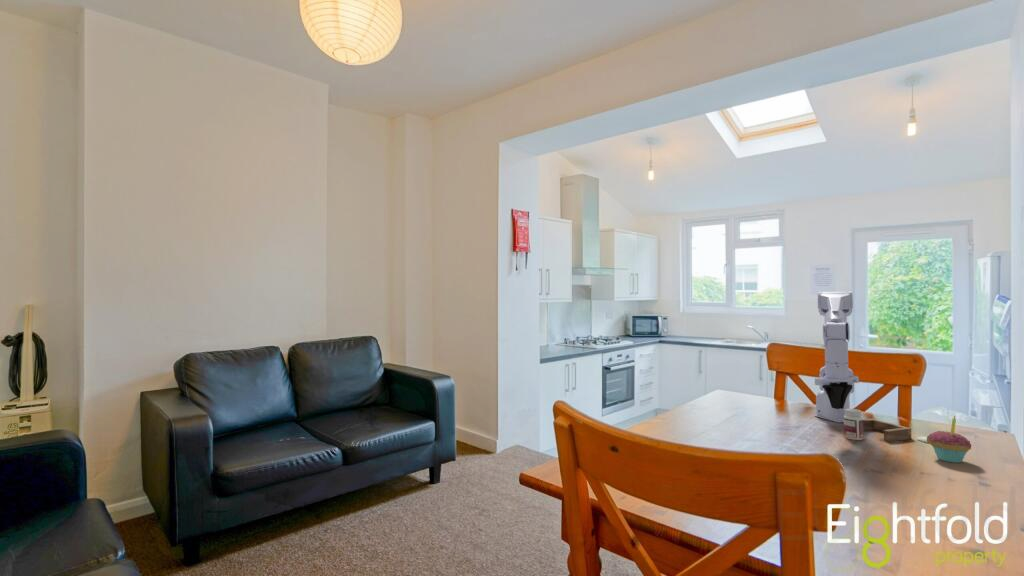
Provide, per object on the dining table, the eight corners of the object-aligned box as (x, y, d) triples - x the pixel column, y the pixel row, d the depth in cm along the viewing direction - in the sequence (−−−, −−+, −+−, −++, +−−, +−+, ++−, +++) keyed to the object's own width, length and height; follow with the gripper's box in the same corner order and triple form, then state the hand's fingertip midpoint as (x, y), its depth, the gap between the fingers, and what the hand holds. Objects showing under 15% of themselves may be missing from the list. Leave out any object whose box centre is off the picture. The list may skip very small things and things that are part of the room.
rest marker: (911, 438, 140) (911, 437, 140) (926, 437, 141) (926, 436, 141) (934, 445, 134) (934, 444, 134) (949, 443, 135) (949, 442, 135)
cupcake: (981, 465, 118) (980, 417, 118) (947, 465, 119) (946, 418, 119) (950, 453, 127) (949, 409, 127) (918, 453, 127) (917, 409, 127)
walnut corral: (850, 430, 148) (850, 421, 149) (872, 428, 151) (872, 418, 151) (888, 441, 138) (887, 431, 138) (911, 438, 140) (911, 428, 140)
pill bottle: (857, 435, 144) (856, 408, 144) (867, 440, 139) (866, 412, 139) (840, 435, 144) (839, 408, 144) (850, 440, 139) (849, 412, 139)
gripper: (829, 365, 134) (830, 413, 134) (868, 363, 138) (869, 409, 138) (808, 362, 141) (809, 407, 141) (845, 359, 145) (846, 403, 145)
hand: (837, 408), depth 140 cm, fingers closed
